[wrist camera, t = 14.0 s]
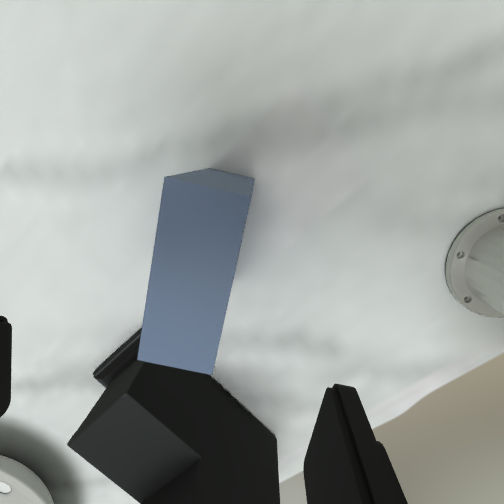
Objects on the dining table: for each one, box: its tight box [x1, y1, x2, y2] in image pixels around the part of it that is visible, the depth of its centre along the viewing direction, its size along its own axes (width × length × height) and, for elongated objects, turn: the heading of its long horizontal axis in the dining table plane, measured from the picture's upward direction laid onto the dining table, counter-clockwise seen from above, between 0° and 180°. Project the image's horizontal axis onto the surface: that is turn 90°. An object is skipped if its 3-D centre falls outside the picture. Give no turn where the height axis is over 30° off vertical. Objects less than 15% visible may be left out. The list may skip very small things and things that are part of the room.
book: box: [137, 168, 254, 375], centre depth 29 cm, size 12×5×18 cm, turn 167°
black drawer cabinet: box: [67, 328, 280, 504], centre depth 33 cm, size 23×11×24 cm, turn 43°
